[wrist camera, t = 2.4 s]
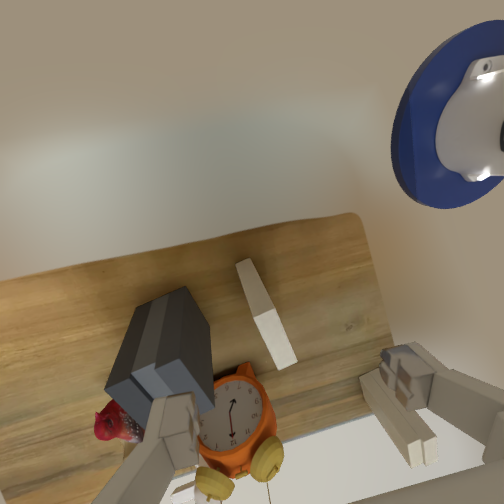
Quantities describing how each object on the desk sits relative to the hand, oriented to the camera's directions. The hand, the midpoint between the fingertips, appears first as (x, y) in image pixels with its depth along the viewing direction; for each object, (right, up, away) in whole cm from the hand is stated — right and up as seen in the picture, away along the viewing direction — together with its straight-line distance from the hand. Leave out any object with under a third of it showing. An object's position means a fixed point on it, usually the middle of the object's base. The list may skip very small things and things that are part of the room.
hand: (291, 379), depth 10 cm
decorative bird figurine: (-23, -22, +35) cm, 47 cm away
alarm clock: (-6, -20, +38) cm, 43 cm away
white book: (-2, 0, +31) cm, 31 cm away
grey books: (-14, -5, +30) cm, 34 cm away
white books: (+27, -26, +48) cm, 60 cm away
